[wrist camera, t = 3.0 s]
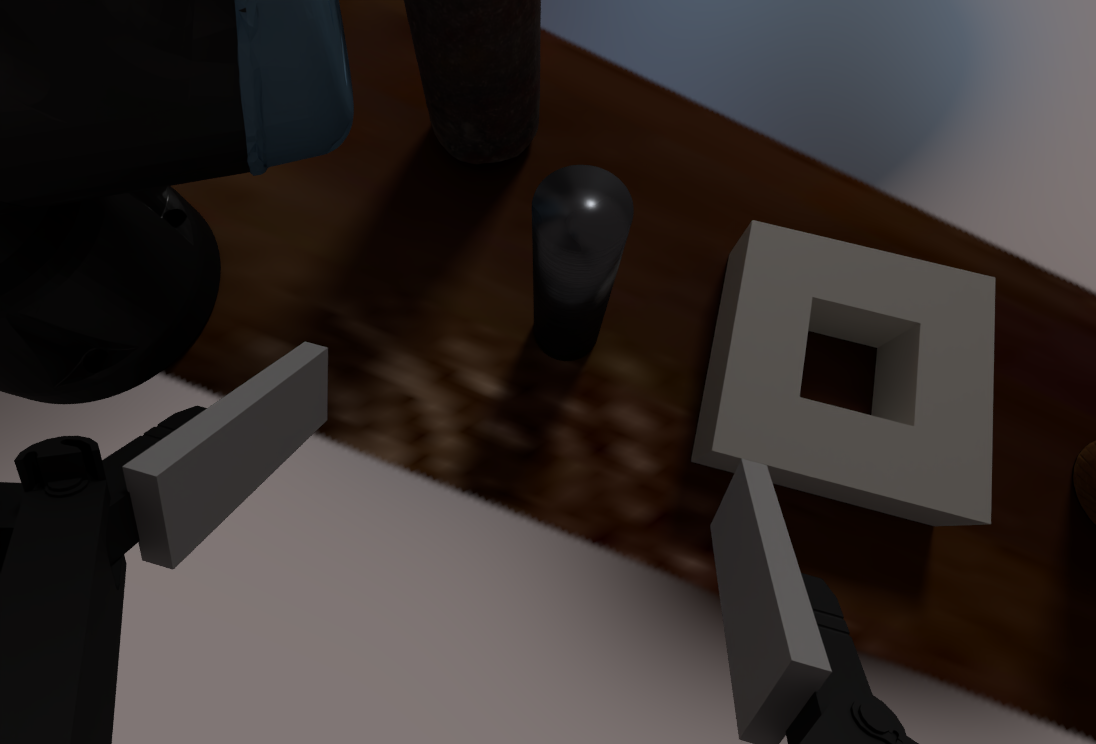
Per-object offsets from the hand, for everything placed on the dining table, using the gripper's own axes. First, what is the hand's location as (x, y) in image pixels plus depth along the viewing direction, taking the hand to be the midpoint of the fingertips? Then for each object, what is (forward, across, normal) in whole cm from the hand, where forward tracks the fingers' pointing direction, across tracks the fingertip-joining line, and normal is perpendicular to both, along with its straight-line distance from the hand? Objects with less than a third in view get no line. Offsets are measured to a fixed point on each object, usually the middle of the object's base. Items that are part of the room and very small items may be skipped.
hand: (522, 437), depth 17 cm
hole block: (+18, +16, -3) cm, 24 cm away
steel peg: (+17, 0, -4) cm, 18 cm away
